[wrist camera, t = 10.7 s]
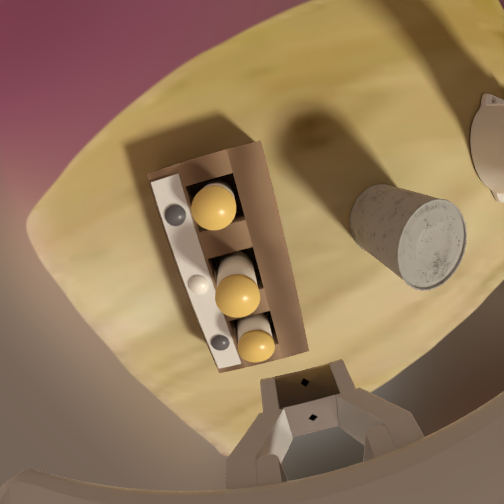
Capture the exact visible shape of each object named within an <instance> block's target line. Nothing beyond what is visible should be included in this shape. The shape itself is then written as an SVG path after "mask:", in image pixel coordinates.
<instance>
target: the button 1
mask: <svg viewBox="0 0 504 504" xmlns="http://www.w3.org/2000/svg"><path fill="white" fill-rule="evenodd" d="M191 210H192V215H193V218H194V219H195V221H196V222H197V223H198V224H199V225H200V226H201V227H203V228H205V229H208V230H220V229H223V228H225V227H226V226H228V225H229V224H230V223H231V222H232V220H233V219H234V217H235V214H236V202H235V196H234V191H233V189H232V187H231V186H230V185H229V184H228V183H226V182H224V181H221V180H214V181H211V182H209V183H207V184H206V185H205V186H204V187H203V188H202V189H201V190H200V191H199V192H198V193H197V194H196V196H195V197H194V199H193V202H192V207H191Z"/></svg>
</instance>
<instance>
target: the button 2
mask: <svg viewBox="0 0 504 504" xmlns="http://www.w3.org/2000/svg"><path fill="white" fill-rule="evenodd" d="M237 331H238V352H239V354H240V356H241V357H242V358H243V359H244V360H246V361H249V362H262V361H265V360H267V359H268V358H270V357H271V356H272V354H273V353H274V350H275V344H274V340H273V337H272V333H271V329H270V325H269V320H268V316H267V312H263V313H259V314H255V315H251V316H247V317H243V318H239V319H237Z"/></svg>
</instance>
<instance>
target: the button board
mask: <svg viewBox="0 0 504 504" xmlns="http://www.w3.org/2000/svg"><path fill="white" fill-rule="evenodd" d="M178 173H179V176H180V180H181V183H182V186H183V190H184V193H185V197H186V200H187V203H188V207H189V210H190V213H191V216H192V220H193V223H194V226H195V229H196V233H197V236H198V239H199V242H200V245H201V248H202V251H203V254H204V258H205V261H206V264H207V267H208V270H209V273H210V276H211V279H212V282H213V285H214V288H215V291H216V287H217V276H218V268H217V265H216V262H215V259H214V257H217V256H220V255H224V254H228V253H232V252H235V251H239V250H243V249H247V248H250V247H253V249H254V253H255V257H256V261H257V264H258V268H259V272H256V273H255V276H256V281H257V286H258V288H259V292H260V302H259V305H258V307H257V308H256V310H255V311H254V312H252V313H251V314H249V315H247V316H251V315H255V314H259V313H263V312H267V311H270V313H271V316H272V320H273V323H271V324H269V325H270V329H271V333H272V337H273V340H274V344H275V350H274V353H273V354H272V356H271V357H270V358H268V359H267V360H265V361H262V362H249V361H246V360H244V359H243V358H242V357H241V356H240V354H239V352H238V331H237V326H236V323H235V319H239V318H235V317H230V316H227V315H225V314H224V313H223V314H224V317H225V319H226V322H227V325H228V328H229V331H230V333H231V336H232V339H233V342H234V344H235V347H236V350H237V353H238V355H239V358H240V361H241V364H238V365H234V366H229V367H225V368H220V369H219V368H218V366H217V364H216V361H215V359H214V357H213V354H212V352H211V350H210V347H209V345H208V342H207V340H206V338H205V335H204V333H203V330H202V328H201V325H200V323H199V320H198V318H197V315H196V313H195V310H194V308H193V305H192V302H191V300H190V297H189V294H188V292H187V289H186V286H185V284H184V281H183V278H182V276H181V273H180V270H179V267H178V265H177V262H176V259H175V256H174V253H173V250H172V247H171V244H170V242H169V239H168V236H167V233H166V230H165V227H164V223H163V220H162V217H161V214H160V211H159V208H158V205H157V201H156V198H155V195H154V192H153V188H152V185H151V182H154V181H157V180H160V179H163V178H166V177H169V176H172V175H175V174H178ZM231 173H233V175H234V179H235V183H236V186H237V190H238V194H239V197H240V201H241V205H242V209H243V211H242V212H239V213H236V214H235V217H234V219H233V220H232V222H231V223H230V224H229V225H228V226H226V227H225V228H223V229H220V230H208V229H205V228H203V227H201V226H200V225H199V224H198V223H197V222H196V221H195V219H194V218H193V215H192V210H191V207H192V202H193V199H194V197H195V193H194V190H193V186H192V184H196V183H199V182H202V181H206V180H209V179H213V178H216V177H220V176H224V175H227V174H231ZM147 177H148V180H149V184H150V187H151V190H152V194H153V197H154V200H155V203H156V207H157V210H158V213H159V216H160V219H161V222H162V225H163V228H164V231H165V234H166V237H167V240H168V243H169V246H170V249H171V252H172V255H173V258H174V260H175V263H176V266H177V269H178V272H179V274H180V277H181V280H182V282H183V285H184V288H185V290H186V293H187V296H188V298H189V301H190V304H191V306H192V309H193V311H194V314H195V316H196V319H197V321H198V324H199V326H200V329H201V331H202V334H203V336H204V338H205V341H206V343H207V346H208V348H209V350H210V353H211V355H212V357H213V360H214V362H215V364H216V367H217V369H218V371H219V373H222V372H227V371H231V370H236V369H241V368H245V367H249V366H254V365H258V364H262V363H266V362H270V361H274V360H278V359H282V358H285V357H289V356H293V355H296V354H300V353H304V352H307V351H309V349H308V344H307V339H306V334H305V329H304V324H303V319H302V314H301V309H300V305H299V300H298V295H297V291H296V286H295V281H294V277H293V272H292V268H291V263H290V259H289V254H288V250H287V246H286V241H285V237H284V233H283V228H282V224H281V220H280V216H279V211H278V207H277V203H276V199H275V195H274V191H273V187H272V183H271V179H270V175H269V171H268V167H267V163H266V159H265V155H264V151H263V148H262V144H261V141H257V142H253V143H248V144H244V145H241V146H237V147H233V148H229V149H225V150H222V151H218V152H215V153H211V154H208V155H204V156H201V157H197V158H194V159H191V160H187V161H184V162H181V163H178V164H175V165H172V166H169V167H165V168H162V169H159V170H157V171H154V172H151V173H148V174H147ZM247 316H245V317H247ZM240 318H243V317H240Z"/></svg>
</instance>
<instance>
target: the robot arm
mask: <svg viewBox="0 0 504 504" xmlns="http://www.w3.org/2000/svg"><path fill="white" fill-rule="evenodd" d="M470 143H471V153H472V159H473V163H474V166H475V169H476V171H477V174H478V176H479V177H480V179H481V181H482V182H483V183H484V184H485V185H486V186H487V187H488V188H489V189H490V190H491V191H492V193H493V195H494V197H495V199H496V201H497V202H504V100H503V99H501V98H498V97H496V96H494V95H491V94H483V96H482V101H481V107H480V109H479V111H478V112H477V113H476V115H475V117H474V120H473V123H472V127H471V137H470ZM260 385H261V395H262V405H263V413H259V414H258V416H257V417H256V419H255V420H254V422H253V423H252V425H251V426H250V428H249V429H248V430H247V432H246V433H245V435H244V436H243V438H242V439H241V440H240V442H239V443H238V445H237V446H236V447H235V449H234V450H233V451H232V453H231V454H230V456H229V457H228V458H227V465H226V468H227V469H226V490H212V491H157V490H156V491H155V490H141V489H130V488H121V487H113V486H106V485H100V484H94V483H88V482H83V481H78V480H72V479H69V478H64V477H60V476H56V475H52V474H49V473H45V472H41V471H38V470H35V469H26V470H24V471H22V472H20V473H19V474H17V475H16V476H14V477H13V478H11V479H10V480H8V481H7V482H5V483H4V484H3V485H2V486H1V488H0V504H504V391H503V392H502V393H501V394H499V395H498V396H496V397H495V398H493V399H492V400H490V401H489V402H487V403H486V404H484V405H482V406H481V407H480V408H478V409H476V410H475V411H473V412H471V413H469V414H468V415H466V416H464V417H463V418H461V419H459V420H457V421H456V422H454V423H452V424H450V425H448V426H446V427H444V428H442V429H441V430H439V431H437V432H435V433H432V434H431V435H428V436H426V437H424V435H423V433H422V432H421V430H420V428H419V426H418V424H417V423H416V421H415V419H414V417H413V416H412V414H411V412H409V411H407V410H405V409H403V408H401V407H398V406H396V405H394V404H392V403H390V402H388V401H386V400H384V399H382V398H379V397H378V396H376V395H374V394H372V393H370V392H368V391H366V390H364V389H362V388H357V389H356V388H355V386H354V383H353V381H352V379H351V377H350V375H349V373H348V370H347V368H346V366H345V364H344V362H343V360H341V359H340V360H337V361H334V362H330V363H328V364H324V365H320V366H317V367H313V368H310V369H306V370H302V371H298V372H294V373H289V374H285V375H280V376H275V377H272V378H266V379H261V381H260ZM335 426H339V427H340V428H341V429H343V430H344V431H345V432H347V433H348V434H349V435H351V436H352V437H354V438H355V439H356V440H358V441H359V442H360V443H362V444H363V445H365V449H364V460H363V462H361V463H358V464H355V465H352V466H349V467H346V468H342V469H339V470H335V471H332V472H328V473H324V474H320V475H316V476H311V477H307V478H303V479H298V480H293V481H288V480H287V477H286V475H285V472H284V470H283V467H282V465H281V462H282V460H283V458H284V456H285V454H286V452H287V450H288V448H289V446H290V444H291V442H292V439H293V437H296V436H300V435H304V434H308V433H311V432H315V431H319V430H323V429H327V428H330V427H335Z"/></svg>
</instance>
